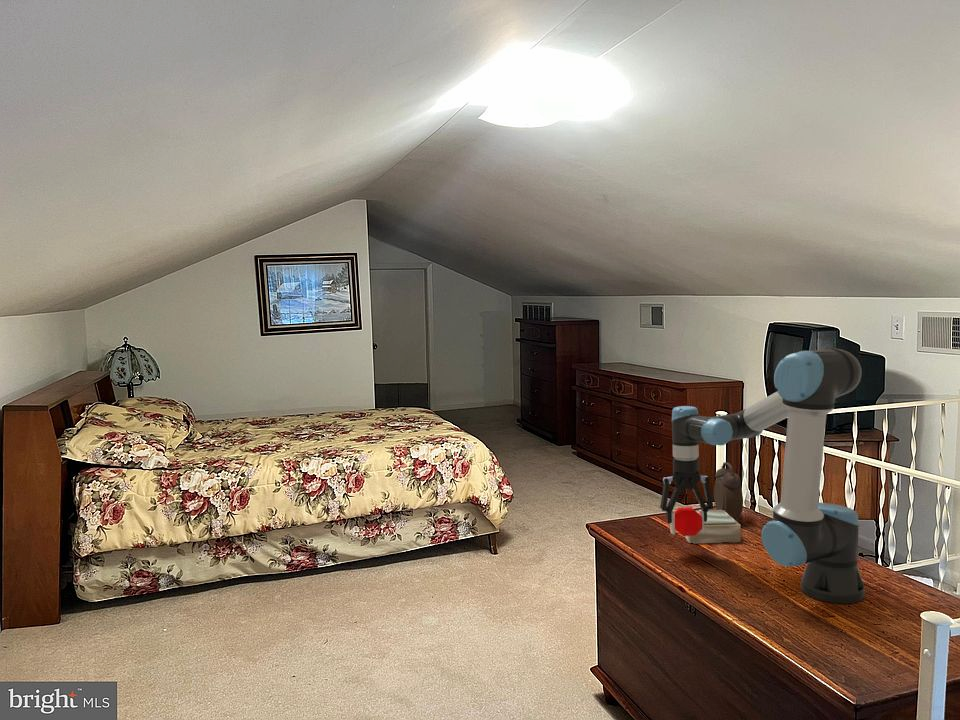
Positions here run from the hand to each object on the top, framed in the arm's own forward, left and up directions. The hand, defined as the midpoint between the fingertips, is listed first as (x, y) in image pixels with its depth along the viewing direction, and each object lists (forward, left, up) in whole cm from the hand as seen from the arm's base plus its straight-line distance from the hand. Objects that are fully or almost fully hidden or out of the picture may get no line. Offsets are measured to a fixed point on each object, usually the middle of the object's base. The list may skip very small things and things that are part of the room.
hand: (687, 532), depth 223 cm
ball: (0, 0, -1) cm, 1 cm away
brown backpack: (+33, -24, -7) cm, 42 cm away
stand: (+18, -12, -7) cm, 23 cm away
